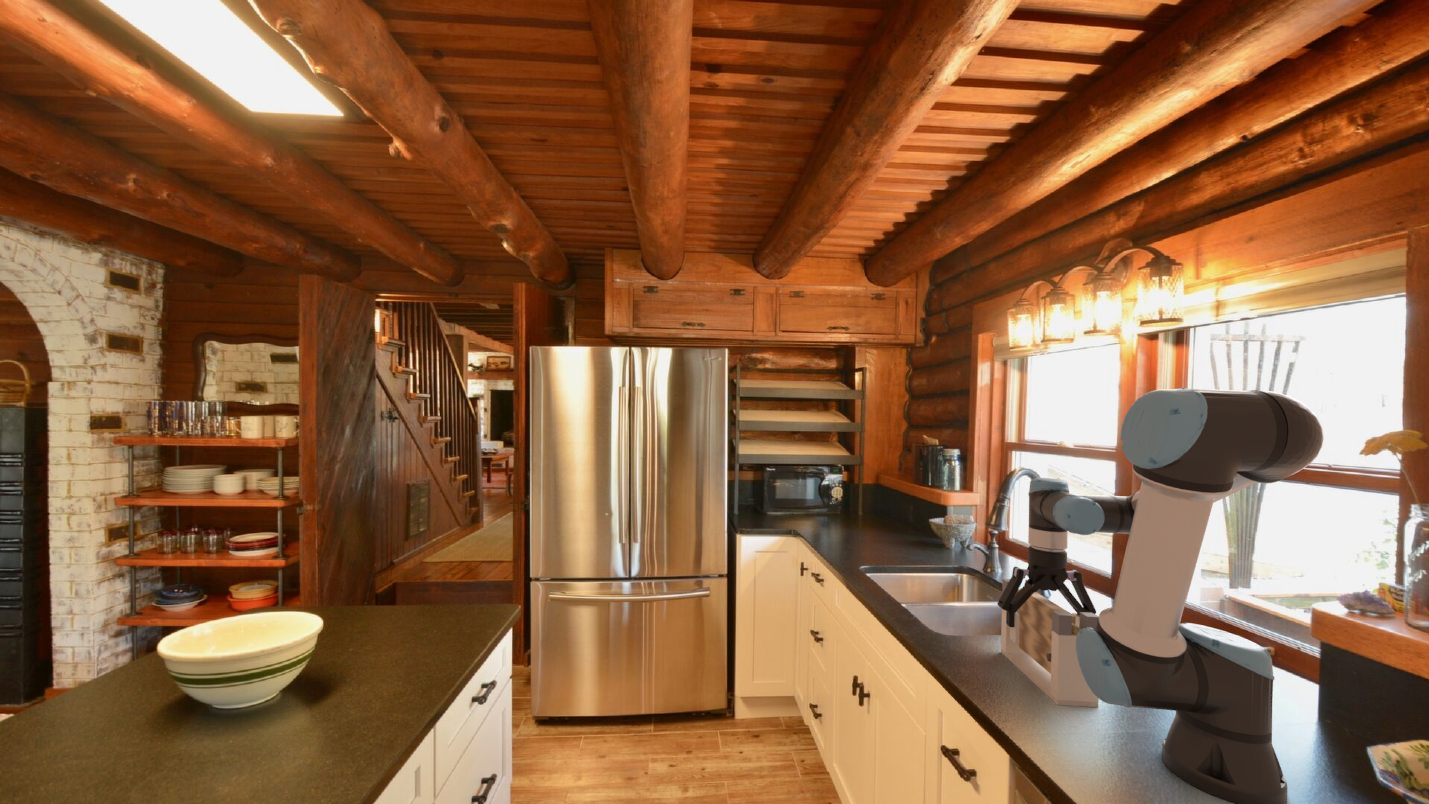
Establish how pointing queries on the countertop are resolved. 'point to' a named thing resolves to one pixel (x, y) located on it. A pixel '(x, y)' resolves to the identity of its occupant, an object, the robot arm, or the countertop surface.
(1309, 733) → the countertop surface
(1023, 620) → the oak door
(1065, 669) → the cabinet frame
